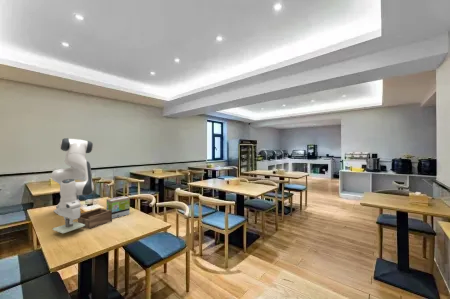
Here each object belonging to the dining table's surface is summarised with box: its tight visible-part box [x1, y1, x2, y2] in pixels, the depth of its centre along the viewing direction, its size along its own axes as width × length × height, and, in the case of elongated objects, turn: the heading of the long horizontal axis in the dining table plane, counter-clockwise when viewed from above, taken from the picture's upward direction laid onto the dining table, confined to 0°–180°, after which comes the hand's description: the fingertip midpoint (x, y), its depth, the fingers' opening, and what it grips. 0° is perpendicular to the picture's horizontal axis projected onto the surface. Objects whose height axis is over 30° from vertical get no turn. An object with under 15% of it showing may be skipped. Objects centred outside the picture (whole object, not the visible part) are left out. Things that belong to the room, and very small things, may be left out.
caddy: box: [77, 207, 113, 230], centre depth 152 cm, size 15×16×8 cm
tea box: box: [105, 195, 131, 220], centre depth 169 cm, size 15×10×15 cm, turn 143°
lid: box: [52, 218, 85, 234], centre depth 136 cm, size 13×13×6 cm
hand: (69, 223), depth 136 cm, fingers closed on lid, 3 cm apart
